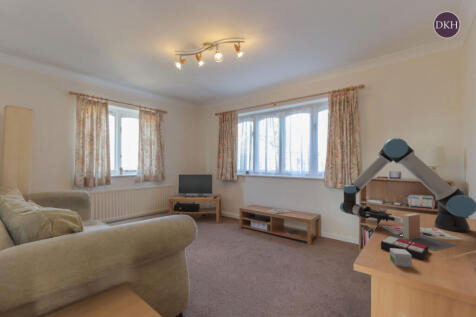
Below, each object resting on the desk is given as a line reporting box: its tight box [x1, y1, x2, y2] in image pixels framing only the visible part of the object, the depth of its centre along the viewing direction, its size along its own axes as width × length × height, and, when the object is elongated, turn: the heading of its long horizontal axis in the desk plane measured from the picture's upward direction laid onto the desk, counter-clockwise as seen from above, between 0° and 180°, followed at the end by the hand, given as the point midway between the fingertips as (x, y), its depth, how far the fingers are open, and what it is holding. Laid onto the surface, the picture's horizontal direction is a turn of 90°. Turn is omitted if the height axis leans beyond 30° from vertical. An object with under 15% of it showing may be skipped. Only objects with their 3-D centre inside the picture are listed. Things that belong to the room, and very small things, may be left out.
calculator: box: [380, 235, 429, 261], centre depth 97 cm, size 11×4×15 cm
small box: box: [389, 248, 413, 268], centre depth 85 cm, size 6×6×5 cm
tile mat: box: [387, 233, 459, 252], centre depth 108 cm, size 18×20×1 cm
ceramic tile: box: [402, 212, 421, 240], centre depth 112 cm, size 9×3×12 cm, turn 111°
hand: (401, 220), depth 116 cm, fingers closed
